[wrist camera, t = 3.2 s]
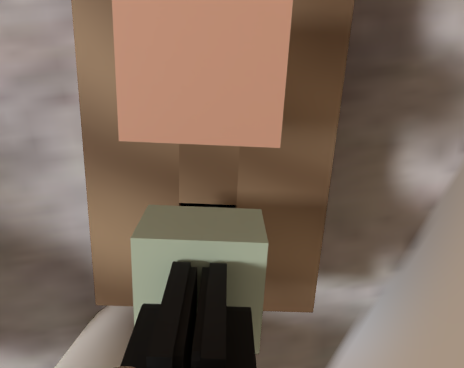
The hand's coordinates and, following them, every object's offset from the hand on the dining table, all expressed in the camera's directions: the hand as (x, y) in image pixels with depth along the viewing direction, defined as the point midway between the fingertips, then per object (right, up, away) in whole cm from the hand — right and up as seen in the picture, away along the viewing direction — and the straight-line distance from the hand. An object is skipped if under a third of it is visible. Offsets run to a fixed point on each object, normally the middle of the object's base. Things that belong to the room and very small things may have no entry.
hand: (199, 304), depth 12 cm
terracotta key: (0, +8, +2) cm, 9 cm away
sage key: (0, +2, +5) cm, 6 cm away
